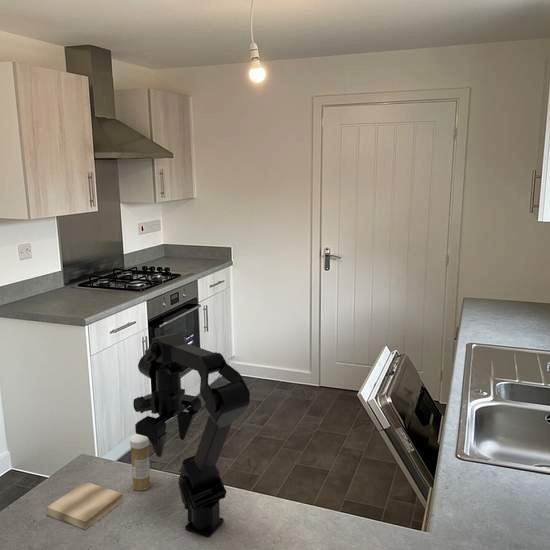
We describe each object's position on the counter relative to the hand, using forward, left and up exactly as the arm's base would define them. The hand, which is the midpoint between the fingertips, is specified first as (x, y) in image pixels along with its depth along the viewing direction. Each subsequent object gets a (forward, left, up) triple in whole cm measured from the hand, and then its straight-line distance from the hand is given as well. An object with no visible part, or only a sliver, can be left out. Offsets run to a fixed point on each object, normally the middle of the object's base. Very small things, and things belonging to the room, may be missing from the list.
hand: (171, 447), depth 131 cm
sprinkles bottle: (+10, 0, -13) cm, 16 cm away
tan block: (+16, +13, -13) cm, 24 cm away
